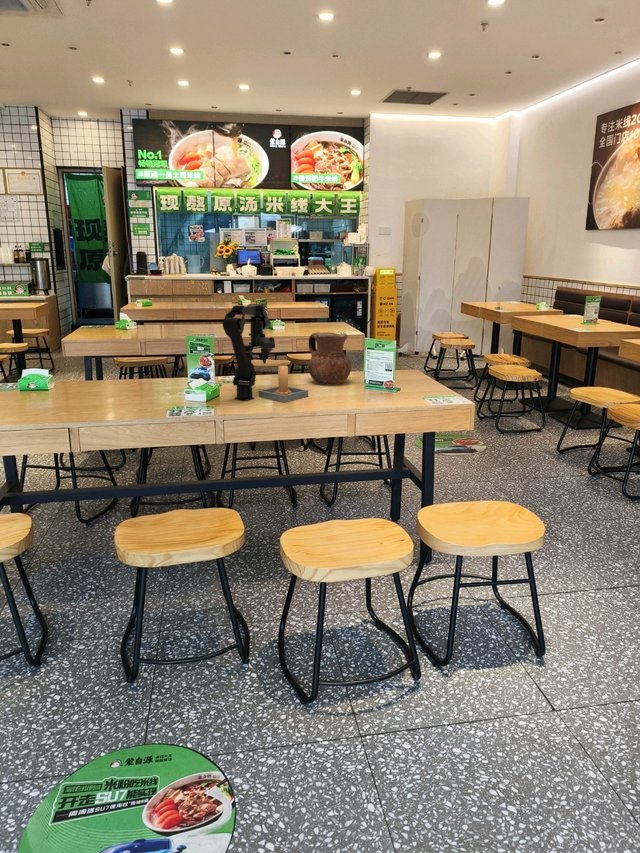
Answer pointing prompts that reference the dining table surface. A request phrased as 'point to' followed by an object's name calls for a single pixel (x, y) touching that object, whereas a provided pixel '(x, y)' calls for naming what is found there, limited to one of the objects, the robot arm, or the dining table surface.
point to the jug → (328, 358)
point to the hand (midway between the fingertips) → (257, 364)
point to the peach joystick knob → (283, 381)
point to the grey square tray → (294, 395)
